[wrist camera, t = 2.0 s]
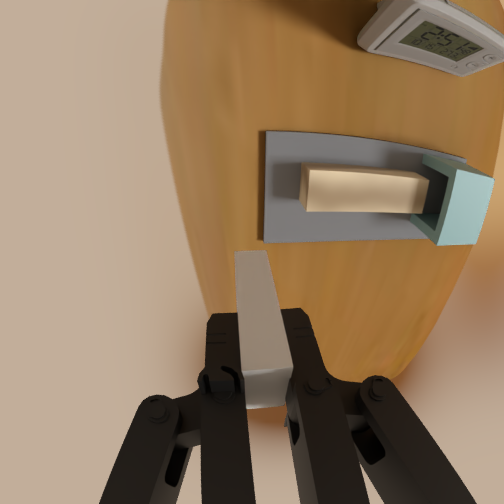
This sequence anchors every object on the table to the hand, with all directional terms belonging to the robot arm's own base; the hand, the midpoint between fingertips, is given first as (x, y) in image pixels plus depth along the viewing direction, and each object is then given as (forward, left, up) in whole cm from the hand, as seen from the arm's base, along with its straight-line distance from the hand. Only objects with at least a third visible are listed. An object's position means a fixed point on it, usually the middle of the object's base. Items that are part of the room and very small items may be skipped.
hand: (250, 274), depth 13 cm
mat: (+1, +16, -15) cm, 22 cm away
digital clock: (-18, +19, -16) cm, 30 cm away
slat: (0, +13, -15) cm, 20 cm away
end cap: (0, +25, -15) cm, 29 cm away
